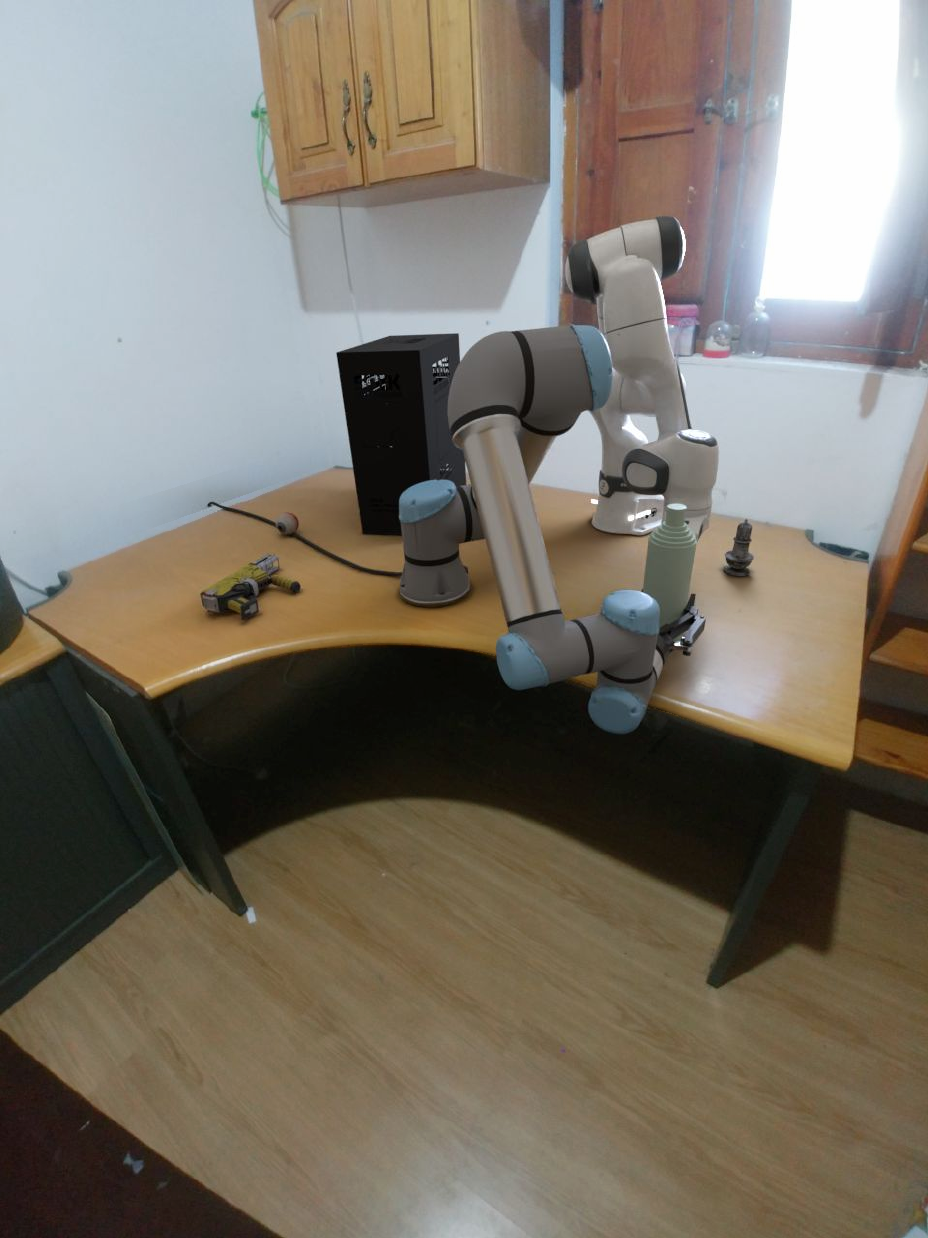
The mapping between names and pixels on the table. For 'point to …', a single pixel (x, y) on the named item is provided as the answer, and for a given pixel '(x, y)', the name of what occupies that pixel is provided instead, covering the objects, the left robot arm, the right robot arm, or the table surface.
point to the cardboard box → (399, 421)
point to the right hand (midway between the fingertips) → (676, 580)
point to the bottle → (670, 565)
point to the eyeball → (287, 523)
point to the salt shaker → (740, 551)
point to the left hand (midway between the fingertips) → (668, 596)
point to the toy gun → (245, 588)
